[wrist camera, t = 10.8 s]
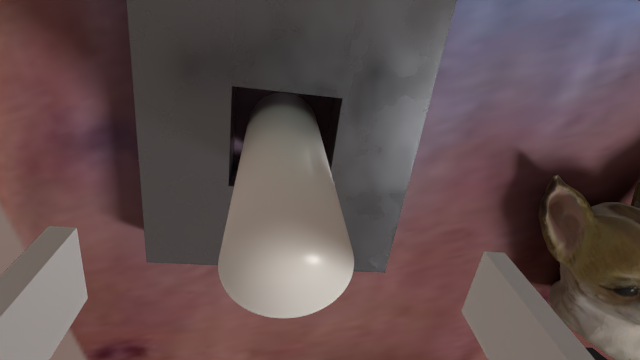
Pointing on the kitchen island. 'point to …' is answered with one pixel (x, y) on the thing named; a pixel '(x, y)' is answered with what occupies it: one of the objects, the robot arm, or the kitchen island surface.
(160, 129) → the block
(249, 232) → the white tapered capsule
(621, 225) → the ceramic sculpture
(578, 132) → the kitchen island surface
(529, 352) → the robot arm
